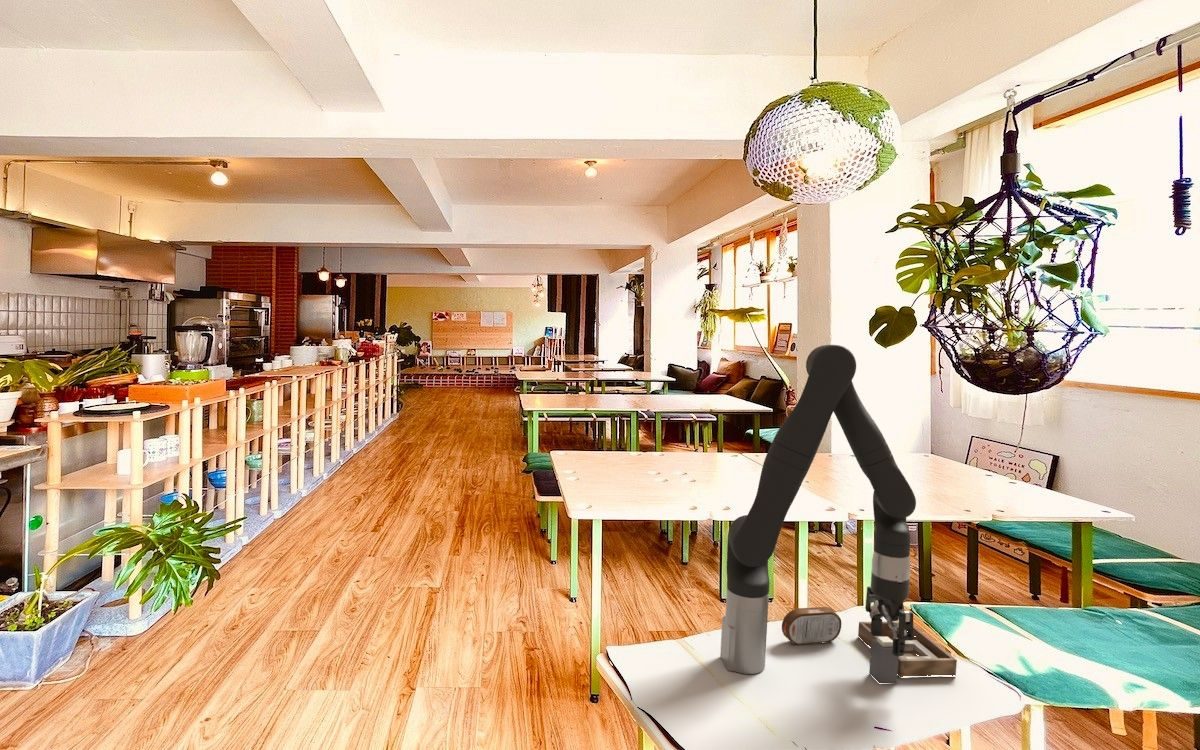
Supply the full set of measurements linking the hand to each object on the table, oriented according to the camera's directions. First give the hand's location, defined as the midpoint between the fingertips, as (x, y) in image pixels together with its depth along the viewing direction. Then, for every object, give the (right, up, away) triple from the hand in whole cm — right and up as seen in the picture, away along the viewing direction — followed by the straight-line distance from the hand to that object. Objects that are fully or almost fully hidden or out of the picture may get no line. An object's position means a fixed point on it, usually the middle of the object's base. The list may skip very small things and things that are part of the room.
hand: (886, 644), depth 133 cm
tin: (-11, -7, +16) cm, 20 cm away
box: (+9, -7, +10) cm, 16 cm away
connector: (-1, -8, 0) cm, 8 cm away
